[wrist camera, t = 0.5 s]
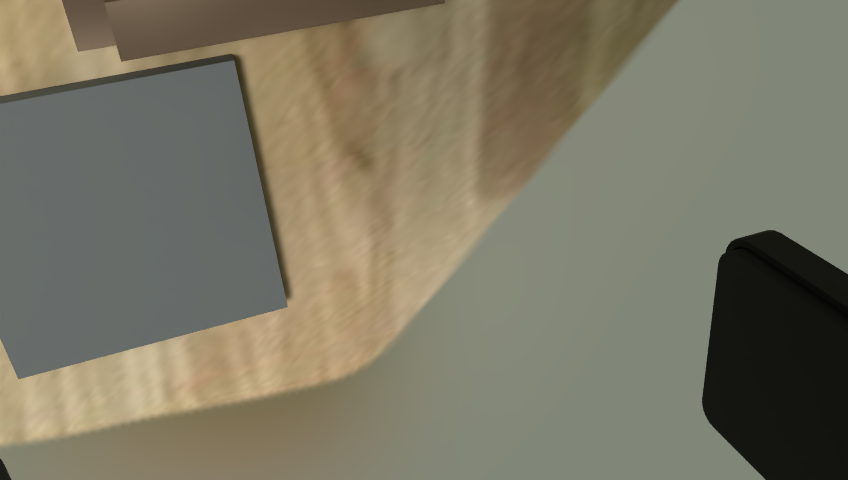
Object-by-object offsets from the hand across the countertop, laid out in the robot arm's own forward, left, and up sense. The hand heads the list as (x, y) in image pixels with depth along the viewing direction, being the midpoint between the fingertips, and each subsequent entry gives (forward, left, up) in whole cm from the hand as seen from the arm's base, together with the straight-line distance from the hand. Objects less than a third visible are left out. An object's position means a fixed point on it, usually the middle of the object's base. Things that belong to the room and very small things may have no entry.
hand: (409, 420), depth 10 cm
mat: (+8, -5, -26) cm, 27 cm away
